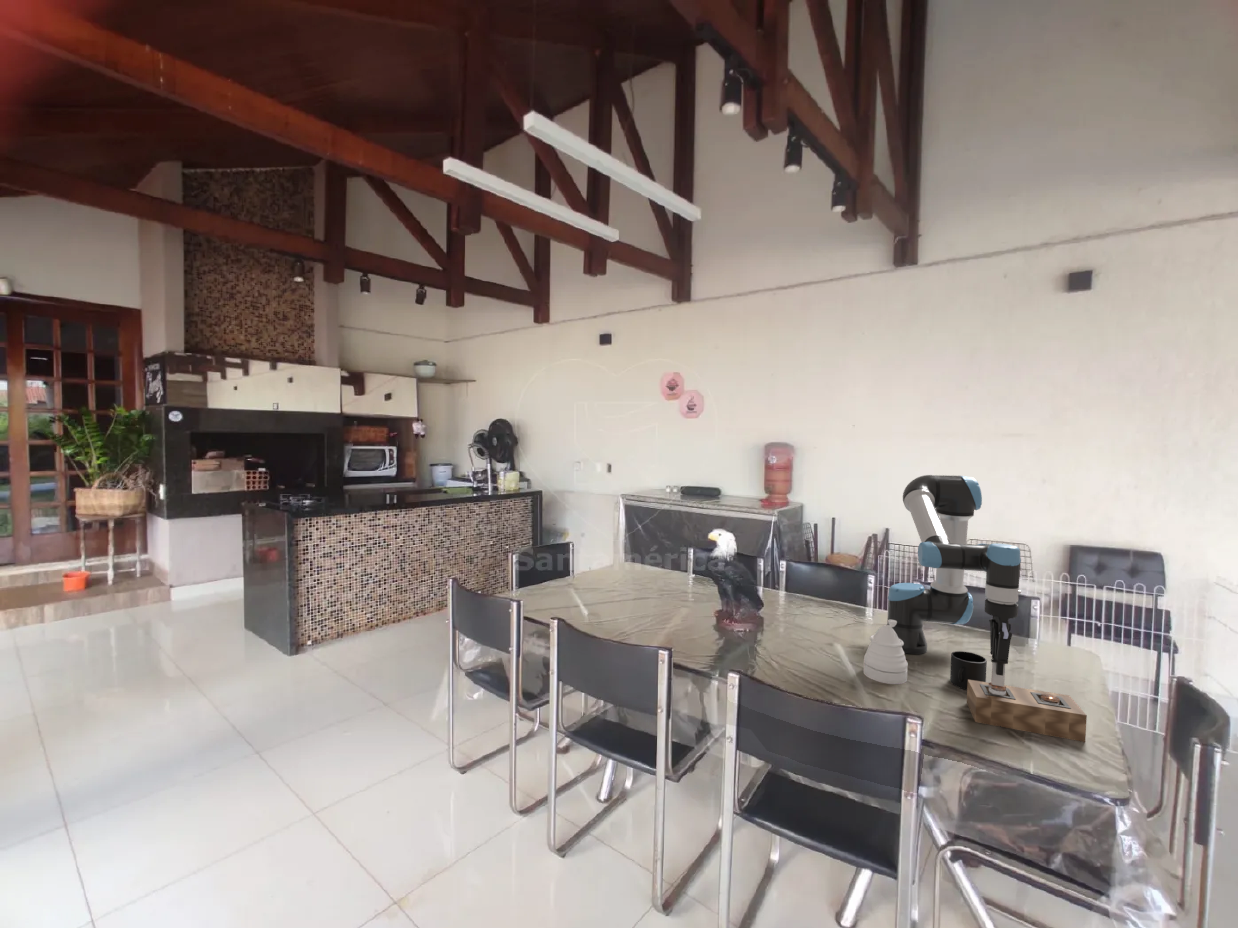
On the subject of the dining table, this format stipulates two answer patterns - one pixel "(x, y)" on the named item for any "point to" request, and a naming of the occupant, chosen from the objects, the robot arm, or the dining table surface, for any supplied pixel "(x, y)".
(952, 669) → the mug
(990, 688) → the peg
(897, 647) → the honey pot
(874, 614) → the dining table surface
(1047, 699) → the peg
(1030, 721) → the socket block
